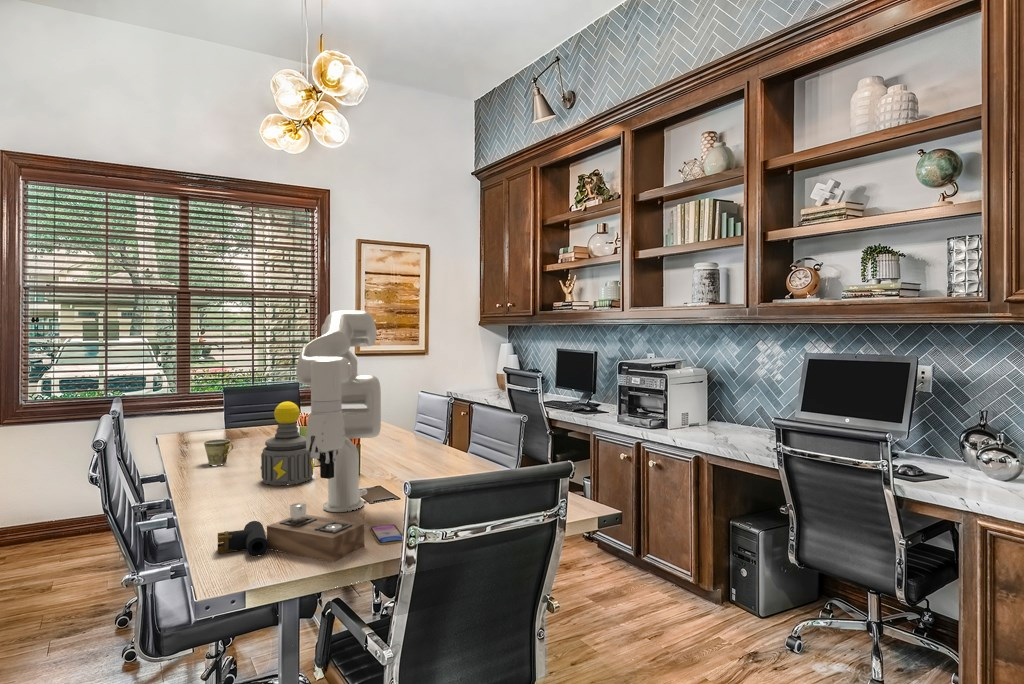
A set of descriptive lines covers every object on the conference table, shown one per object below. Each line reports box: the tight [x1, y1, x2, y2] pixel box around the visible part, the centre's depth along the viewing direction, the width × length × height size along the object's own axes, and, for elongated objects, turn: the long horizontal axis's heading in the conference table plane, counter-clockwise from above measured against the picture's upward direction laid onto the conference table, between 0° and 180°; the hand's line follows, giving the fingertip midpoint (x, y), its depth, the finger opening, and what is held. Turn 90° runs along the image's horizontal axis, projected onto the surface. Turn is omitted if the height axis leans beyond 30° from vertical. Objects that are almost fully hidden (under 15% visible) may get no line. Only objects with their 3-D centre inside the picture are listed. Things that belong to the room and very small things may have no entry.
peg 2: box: [326, 524, 342, 531], centre depth 158 cm, size 4×4×6 cm
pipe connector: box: [217, 520, 269, 557], centre depth 160 cm, size 12×5×15 cm
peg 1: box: [289, 502, 307, 525], centre depth 163 cm, size 4×4×6 cm
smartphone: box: [369, 524, 403, 546], centre depth 170 cm, size 8×15×1 cm, turn 23°
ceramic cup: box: [203, 438, 234, 466], centre depth 259 cm, size 13×10×10 cm
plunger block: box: [266, 513, 365, 563], centre depth 160 cm, size 12×22×6 cm, turn 65°
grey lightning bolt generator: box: [260, 401, 315, 486], centre depth 232 cm, size 19×19×30 cm
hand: (327, 477), depth 159 cm, fingers closed
